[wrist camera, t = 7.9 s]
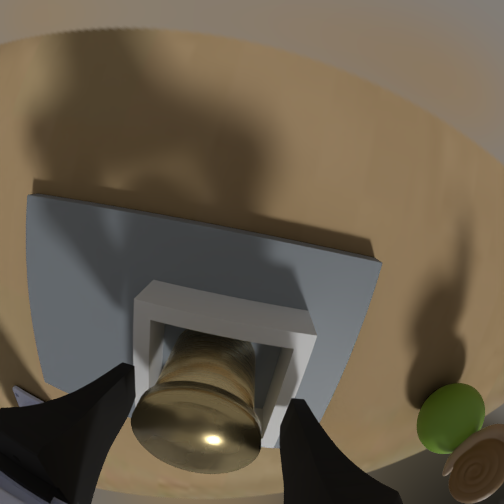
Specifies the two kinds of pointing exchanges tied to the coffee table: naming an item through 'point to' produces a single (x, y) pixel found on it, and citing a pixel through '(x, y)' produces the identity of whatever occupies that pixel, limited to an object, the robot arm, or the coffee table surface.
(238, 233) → the fitting board
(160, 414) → the brass door knob
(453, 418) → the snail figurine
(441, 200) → the coffee table surface
